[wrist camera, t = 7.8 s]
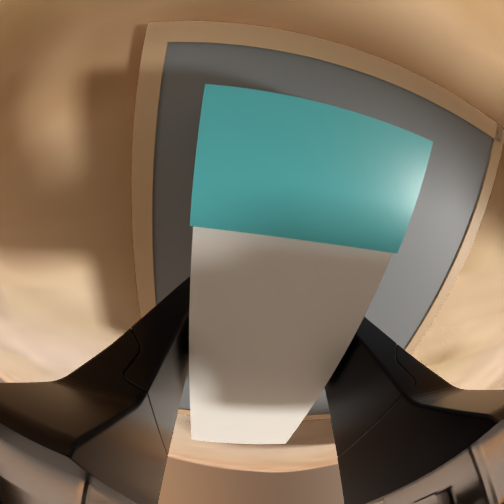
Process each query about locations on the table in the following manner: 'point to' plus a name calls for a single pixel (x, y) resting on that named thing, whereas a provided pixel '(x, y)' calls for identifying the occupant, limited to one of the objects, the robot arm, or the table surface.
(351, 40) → the table surface
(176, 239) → the slate board
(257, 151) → the marker
